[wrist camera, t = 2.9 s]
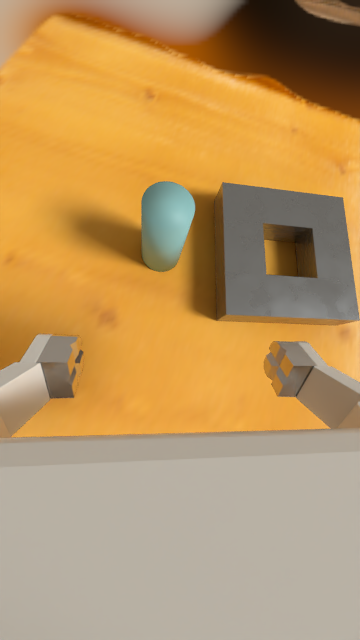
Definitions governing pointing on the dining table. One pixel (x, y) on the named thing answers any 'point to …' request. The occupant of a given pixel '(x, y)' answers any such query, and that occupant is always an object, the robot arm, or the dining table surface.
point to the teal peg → (165, 224)
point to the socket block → (311, 252)
